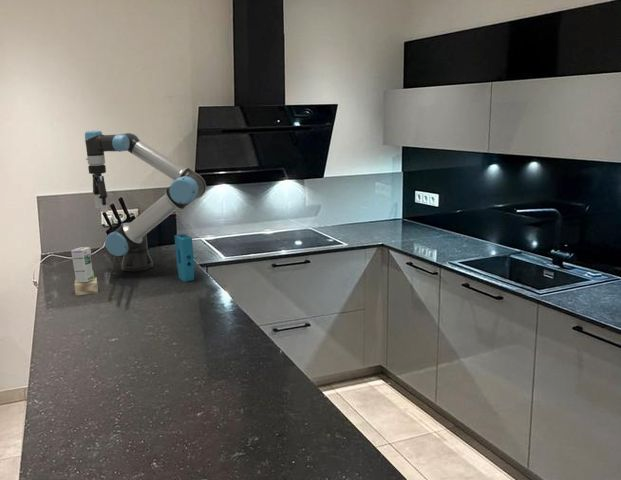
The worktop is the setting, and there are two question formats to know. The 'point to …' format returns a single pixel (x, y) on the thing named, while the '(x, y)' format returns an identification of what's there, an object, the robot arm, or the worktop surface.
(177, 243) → the block
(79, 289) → the birch block
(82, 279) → the syrup box
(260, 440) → the worktop surface
